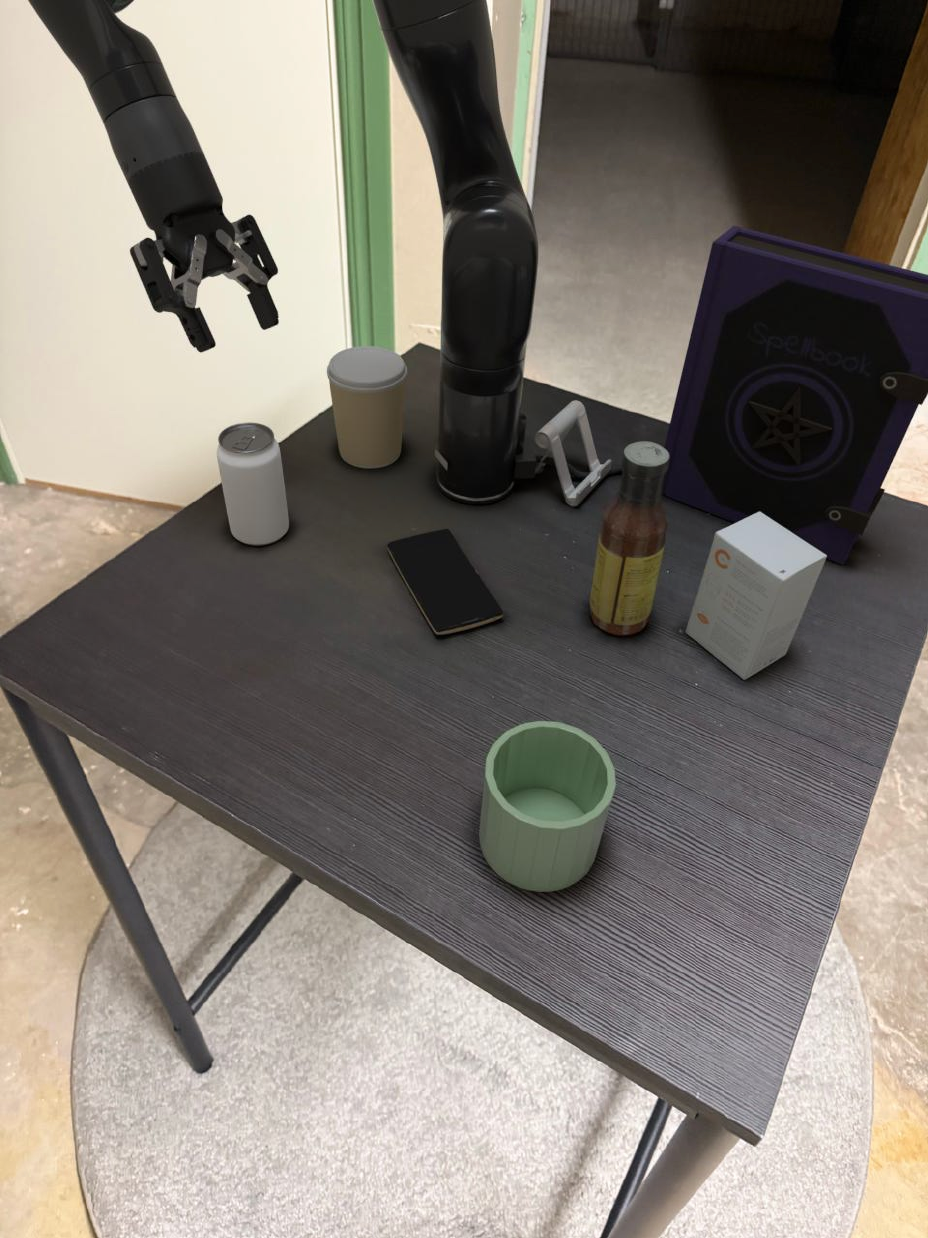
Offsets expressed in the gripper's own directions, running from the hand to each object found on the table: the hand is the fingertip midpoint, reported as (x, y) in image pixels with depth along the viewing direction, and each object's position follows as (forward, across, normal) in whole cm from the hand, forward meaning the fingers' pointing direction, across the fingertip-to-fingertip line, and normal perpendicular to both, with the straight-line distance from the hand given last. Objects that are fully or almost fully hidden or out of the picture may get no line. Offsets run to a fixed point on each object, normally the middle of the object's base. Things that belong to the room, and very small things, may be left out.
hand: (240, 338), depth 85 cm
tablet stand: (+29, +28, -12) cm, 42 cm away
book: (+39, +35, -31) cm, 61 cm away
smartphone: (+30, +4, -10) cm, 32 cm away
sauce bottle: (+38, +10, -25) cm, 47 cm away
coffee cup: (+18, +18, +8) cm, 27 cm away
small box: (+44, +14, -35) cm, 58 cm away
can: (+19, -1, +9) cm, 21 cm away
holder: (+44, -17, -29) cm, 55 cm away
